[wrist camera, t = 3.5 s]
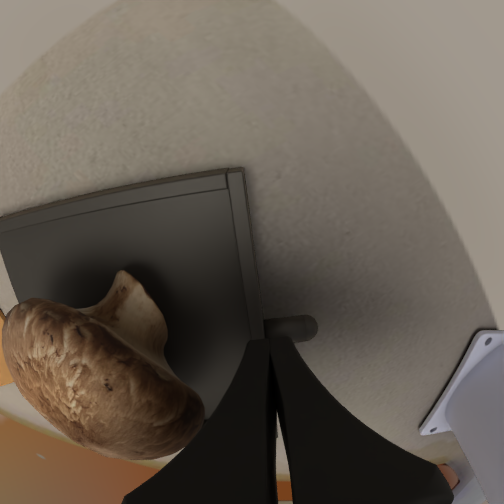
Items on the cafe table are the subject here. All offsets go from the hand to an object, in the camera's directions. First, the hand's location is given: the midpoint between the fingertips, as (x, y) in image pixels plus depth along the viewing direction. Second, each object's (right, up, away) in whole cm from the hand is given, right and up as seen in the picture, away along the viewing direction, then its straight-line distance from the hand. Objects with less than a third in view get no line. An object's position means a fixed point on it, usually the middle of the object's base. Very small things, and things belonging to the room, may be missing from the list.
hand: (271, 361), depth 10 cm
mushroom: (-6, 0, +3) cm, 7 cm away
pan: (-5, 0, +3) cm, 6 cm away
